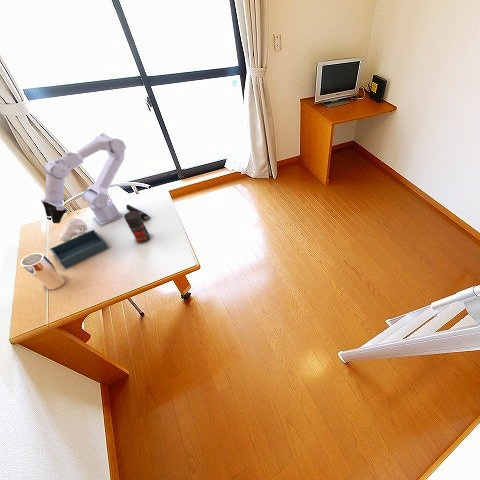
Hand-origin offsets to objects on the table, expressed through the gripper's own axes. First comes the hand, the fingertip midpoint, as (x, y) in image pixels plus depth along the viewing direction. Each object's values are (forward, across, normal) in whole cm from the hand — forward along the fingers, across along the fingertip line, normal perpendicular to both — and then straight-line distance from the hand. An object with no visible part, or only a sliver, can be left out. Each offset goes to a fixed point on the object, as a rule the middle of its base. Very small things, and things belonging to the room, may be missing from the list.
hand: (53, 219), depth 122 cm
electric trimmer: (-4, +5, +32) cm, 33 cm away
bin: (+11, +12, +7) cm, 18 cm away
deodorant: (+1, +24, +27) cm, 36 cm away
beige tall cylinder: (+19, +23, -4) cm, 30 cm away
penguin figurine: (+9, 0, +9) cm, 13 cm away
